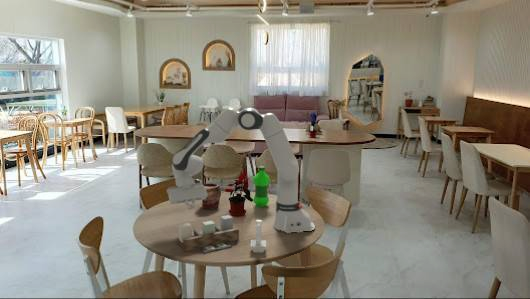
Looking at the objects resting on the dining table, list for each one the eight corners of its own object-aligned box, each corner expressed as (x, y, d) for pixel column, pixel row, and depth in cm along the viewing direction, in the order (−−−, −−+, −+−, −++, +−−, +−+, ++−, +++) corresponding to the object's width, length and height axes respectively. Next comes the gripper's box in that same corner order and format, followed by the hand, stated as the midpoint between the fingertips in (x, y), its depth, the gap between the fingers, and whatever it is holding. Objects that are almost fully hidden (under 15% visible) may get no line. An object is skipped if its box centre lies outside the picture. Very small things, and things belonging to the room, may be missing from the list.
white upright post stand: (266, 246, 193) (266, 216, 190) (265, 255, 183) (266, 224, 180) (251, 245, 193) (251, 216, 190) (250, 254, 183) (250, 224, 180)
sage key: (212, 235, 199) (211, 220, 198) (215, 238, 196) (215, 223, 194) (202, 237, 197) (202, 222, 195) (205, 240, 193) (205, 225, 192)
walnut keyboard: (228, 231, 210) (228, 221, 208) (244, 244, 194) (244, 233, 193) (176, 241, 196) (176, 231, 195) (189, 256, 180) (189, 245, 179)
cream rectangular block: (188, 237, 196) (188, 222, 195) (191, 240, 193) (191, 225, 191) (179, 239, 194) (178, 224, 192) (181, 242, 190) (181, 227, 189)
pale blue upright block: (229, 229, 207) (229, 215, 206) (232, 232, 204) (232, 217, 202) (220, 231, 205) (220, 216, 203) (223, 234, 201) (223, 219, 200)
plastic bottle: (249, 206, 249) (250, 167, 245) (259, 201, 258) (260, 164, 253) (262, 209, 244) (263, 169, 239) (272, 205, 252) (273, 166, 247)
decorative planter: (209, 200, 260) (209, 179, 257) (226, 202, 256) (226, 181, 253) (195, 209, 241) (194, 187, 238) (213, 212, 237) (213, 189, 235)
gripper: (167, 184, 205) (173, 208, 198) (204, 180, 215) (211, 202, 209) (164, 190, 210) (170, 214, 203) (201, 185, 220) (208, 208, 213)
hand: (191, 208), depth 206 cm, fingers closed
